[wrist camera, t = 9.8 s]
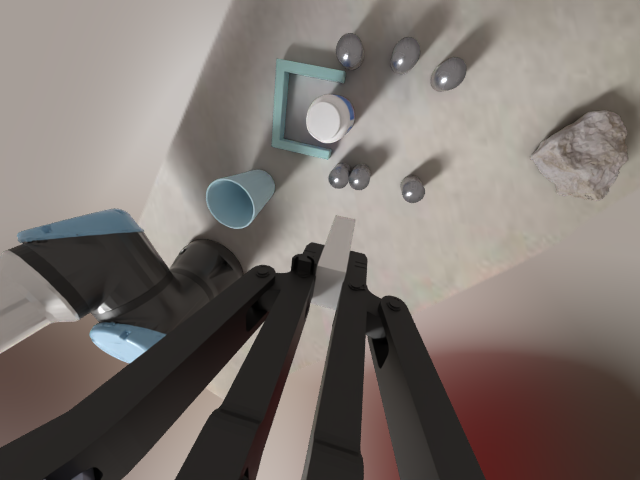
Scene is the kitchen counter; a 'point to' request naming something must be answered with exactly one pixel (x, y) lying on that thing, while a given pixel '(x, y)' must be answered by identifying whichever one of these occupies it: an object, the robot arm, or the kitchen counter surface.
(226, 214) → the cup
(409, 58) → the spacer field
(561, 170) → the stone
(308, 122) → the pill bottle
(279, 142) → the teal bay
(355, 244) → the kitchen counter surface
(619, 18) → the kitchen counter surface
